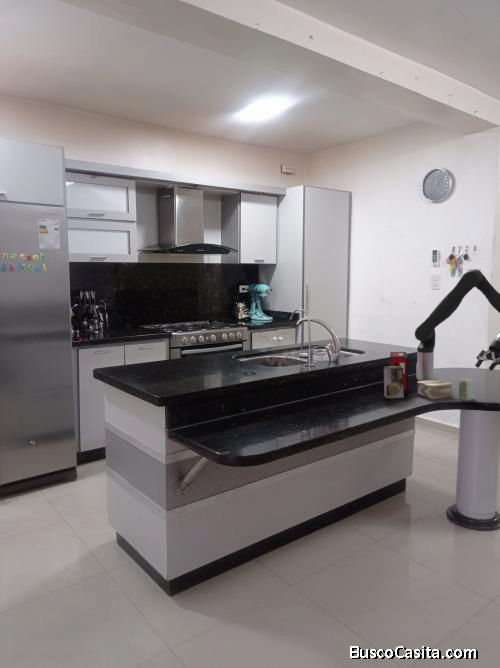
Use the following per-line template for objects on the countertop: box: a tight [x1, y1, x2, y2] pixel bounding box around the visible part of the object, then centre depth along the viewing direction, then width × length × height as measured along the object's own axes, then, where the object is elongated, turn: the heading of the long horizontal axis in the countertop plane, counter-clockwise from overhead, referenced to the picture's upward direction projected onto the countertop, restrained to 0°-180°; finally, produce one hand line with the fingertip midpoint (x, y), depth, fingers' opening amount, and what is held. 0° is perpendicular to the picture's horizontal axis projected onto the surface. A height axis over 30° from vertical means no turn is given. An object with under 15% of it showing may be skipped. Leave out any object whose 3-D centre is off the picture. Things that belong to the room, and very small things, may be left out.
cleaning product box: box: [389, 351, 409, 394], centre depth 270 cm, size 16×9×20 cm, turn 164°
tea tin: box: [458, 377, 475, 402], centre depth 246 cm, size 5×5×10 cm
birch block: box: [416, 378, 453, 400], centre depth 256 cm, size 13×13×7 cm
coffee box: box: [383, 365, 405, 399], centre depth 256 cm, size 9×6×16 cm
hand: (483, 368), depth 249 cm, fingers open, 8 cm apart
